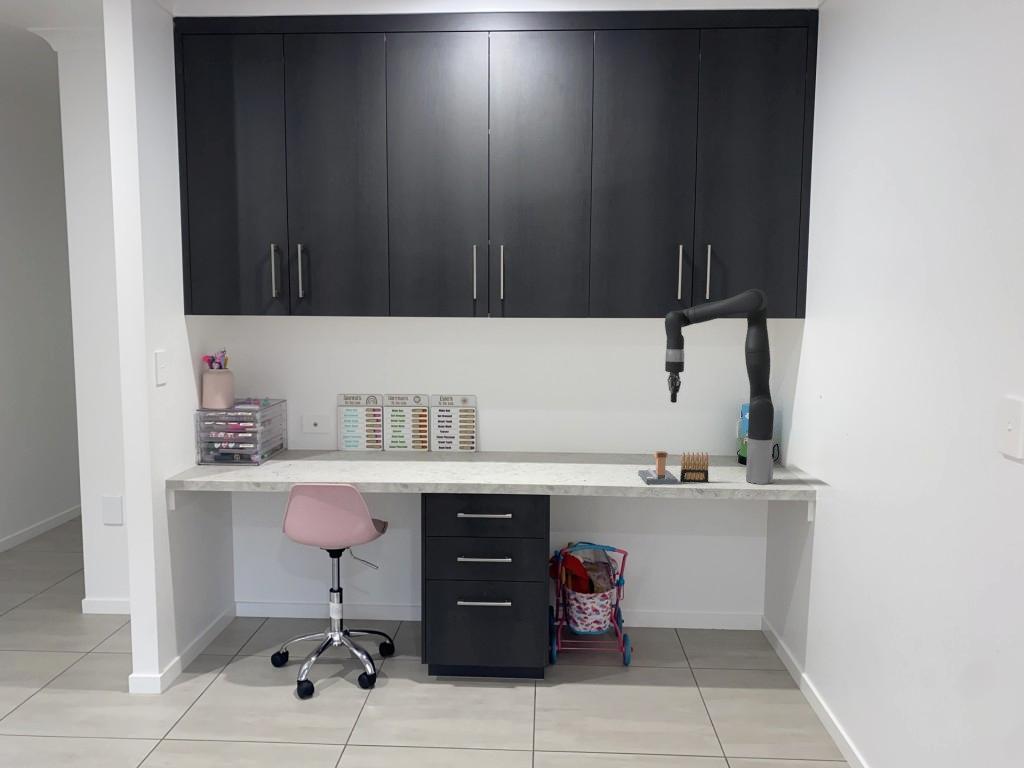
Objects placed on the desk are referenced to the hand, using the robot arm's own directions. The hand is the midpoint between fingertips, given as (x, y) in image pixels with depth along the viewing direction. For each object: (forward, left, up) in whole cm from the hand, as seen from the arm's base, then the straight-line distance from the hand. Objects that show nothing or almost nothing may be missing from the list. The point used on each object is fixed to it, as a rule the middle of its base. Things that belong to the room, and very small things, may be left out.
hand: (673, 402), depth 326 cm
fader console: (+9, +14, -29) cm, 33 cm away
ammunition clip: (-5, +18, -29) cm, 35 cm away
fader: (+9, +19, -27) cm, 34 cm away
